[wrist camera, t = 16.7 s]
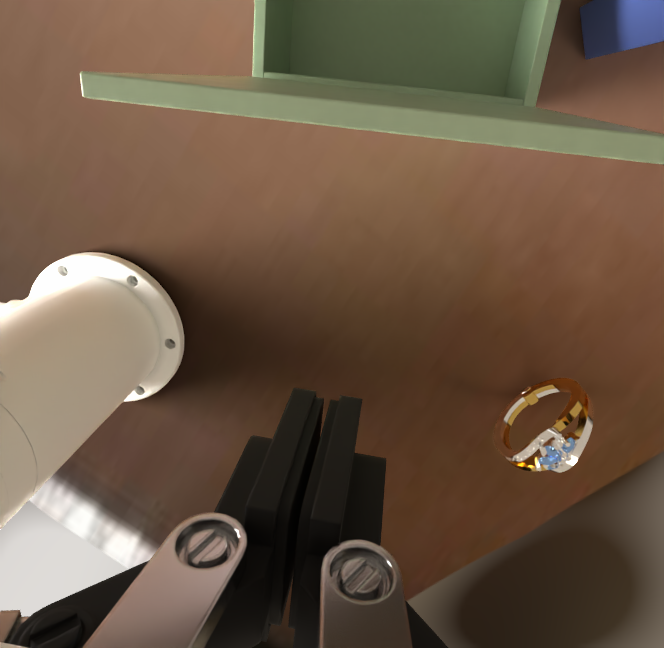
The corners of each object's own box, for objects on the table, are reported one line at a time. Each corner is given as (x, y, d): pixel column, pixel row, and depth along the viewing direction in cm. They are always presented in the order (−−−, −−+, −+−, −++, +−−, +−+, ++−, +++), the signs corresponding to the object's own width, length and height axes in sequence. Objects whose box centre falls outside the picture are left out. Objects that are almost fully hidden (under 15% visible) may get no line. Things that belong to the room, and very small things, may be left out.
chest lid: (78, 71, 12) (81, 97, 13) (684, 138, 11) (673, 166, 11) (250, 76, 26) (249, 89, 26) (537, 107, 24) (533, 120, 25)
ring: (558, 351, 37) (595, 413, 29) (582, 382, 37) (624, 450, 30) (476, 401, 39) (491, 469, 32) (500, 429, 40) (521, 502, 32)
